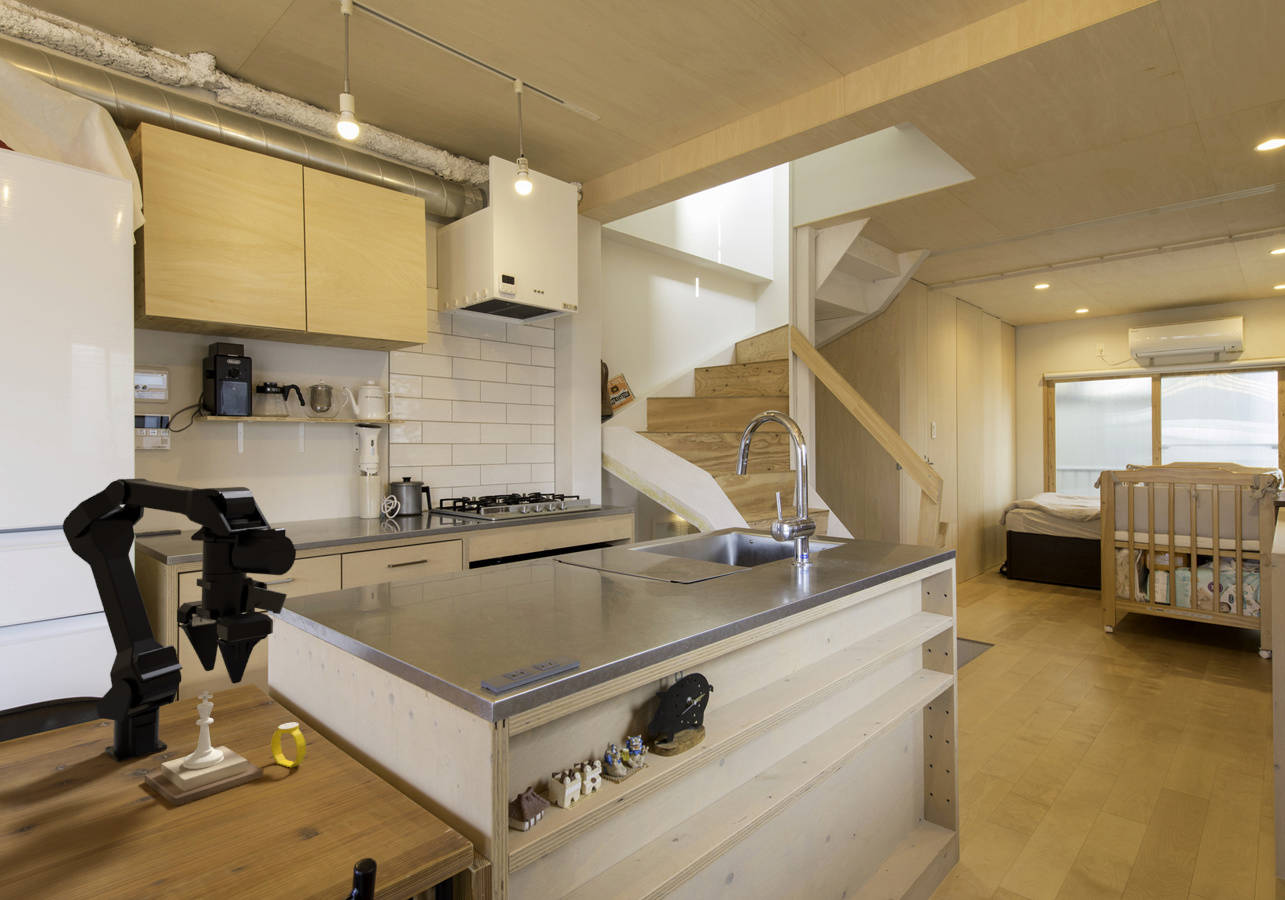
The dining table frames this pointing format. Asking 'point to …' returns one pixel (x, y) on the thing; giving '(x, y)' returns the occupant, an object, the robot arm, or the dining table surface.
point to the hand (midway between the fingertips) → (222, 676)
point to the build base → (200, 790)
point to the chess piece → (204, 739)
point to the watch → (299, 741)
